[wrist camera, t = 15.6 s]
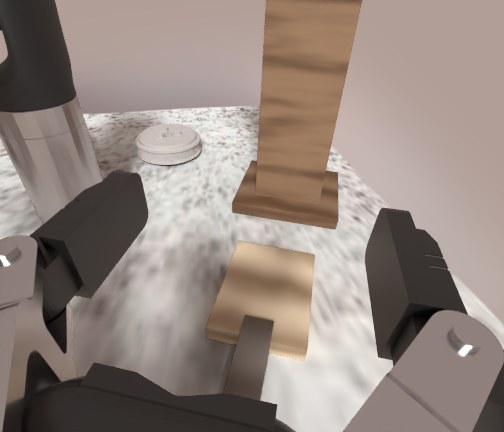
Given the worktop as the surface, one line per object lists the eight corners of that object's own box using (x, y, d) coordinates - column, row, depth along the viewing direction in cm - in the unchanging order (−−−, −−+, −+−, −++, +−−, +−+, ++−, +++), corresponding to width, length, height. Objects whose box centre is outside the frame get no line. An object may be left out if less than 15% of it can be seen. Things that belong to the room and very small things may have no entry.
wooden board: (287, 555, 20) (291, 550, 18) (144, 507, 21) (137, 499, 20) (312, 265, 40) (315, 251, 38) (238, 251, 41) (238, 238, 40)
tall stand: (335, 229, 46) (413, -57, 26) (232, 212, 48) (231, -62, 28) (335, 181, 56) (390, -46, 37) (251, 169, 59) (260, -50, 39)
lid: (210, 161, 61) (209, 138, 58) (146, 174, 56) (141, 150, 53) (189, 137, 70) (187, 115, 67) (132, 147, 65) (127, 124, 62)
